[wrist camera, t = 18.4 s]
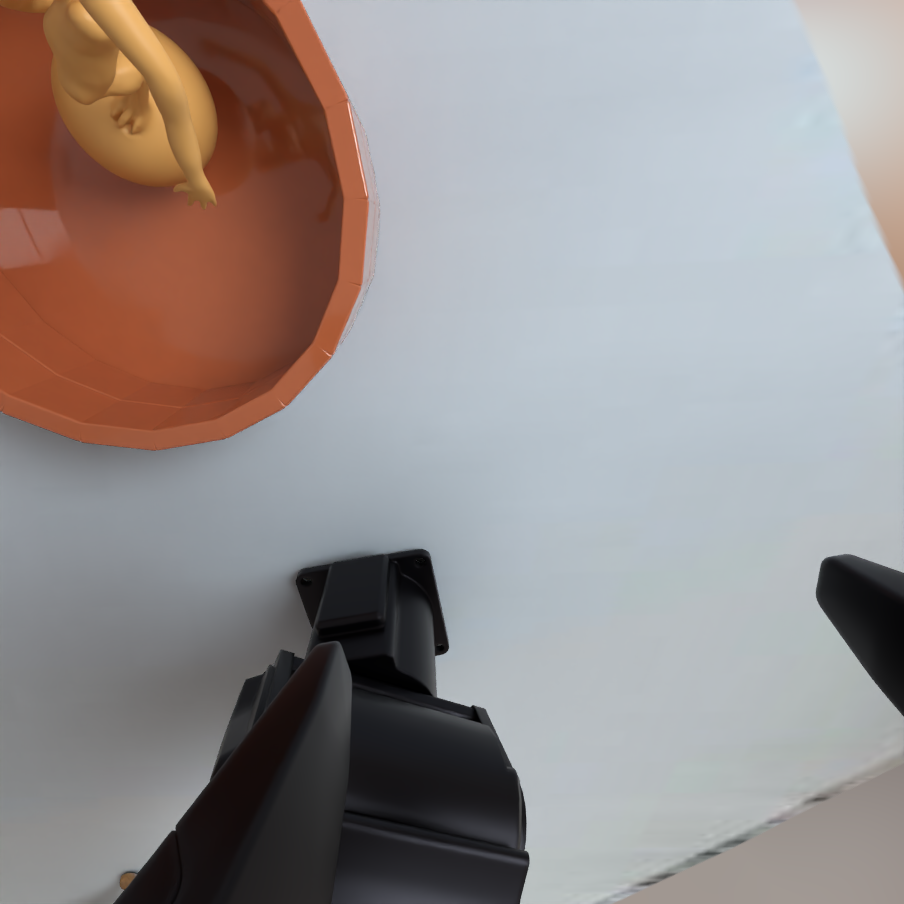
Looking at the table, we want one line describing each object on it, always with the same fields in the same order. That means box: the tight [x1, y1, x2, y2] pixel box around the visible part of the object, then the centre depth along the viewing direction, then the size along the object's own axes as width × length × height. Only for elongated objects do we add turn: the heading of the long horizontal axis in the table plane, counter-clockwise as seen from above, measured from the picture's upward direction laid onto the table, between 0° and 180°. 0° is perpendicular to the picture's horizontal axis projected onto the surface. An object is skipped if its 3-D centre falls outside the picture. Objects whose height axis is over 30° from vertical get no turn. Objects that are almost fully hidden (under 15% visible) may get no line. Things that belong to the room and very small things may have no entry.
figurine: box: [0, 0, 218, 210], centre depth 10 cm, size 8×6×12 cm
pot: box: [0, 0, 380, 451], centre depth 15 cm, size 14×14×5 cm
